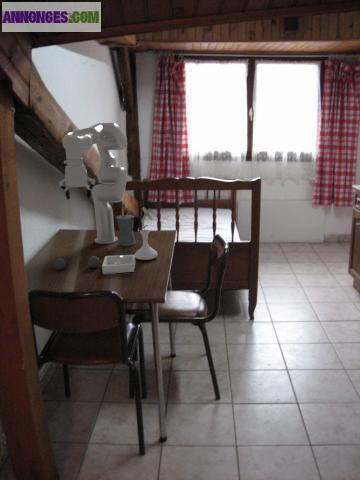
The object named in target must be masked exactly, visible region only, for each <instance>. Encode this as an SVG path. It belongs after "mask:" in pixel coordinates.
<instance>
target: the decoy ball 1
mask: <svg viewBox="0 0 360 480" xmlns="http://www.w3.org/2000/svg"><path fill="white" fill-rule="evenodd" d="M66 264H67V262H66V259H64V258H63V257H57V258H55V259H54V260H53V267H54V268H55V269H56V270H63V269H64V268H65V267H66Z"/></svg>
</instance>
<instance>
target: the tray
mask: <svg viewBox="0 0 360 480" xmlns="http://www.w3.org/2000/svg"><path fill="white" fill-rule="evenodd" d="M116 256H117V255H105V256H104V259H103V263H102V265H101V269H102V275H117V274H116V273H123V272H134V273H135V270H134V269H135V268H136V257H135V254H126V255H124V254H123V255H121V256H123V257H124V258H125V264H121V265H114V263H113V260H114V258H115V257H116ZM123 274H124V273H123Z"/></svg>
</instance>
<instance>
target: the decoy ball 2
mask: <svg viewBox="0 0 360 480" xmlns="http://www.w3.org/2000/svg"><path fill="white" fill-rule="evenodd" d="M87 263H88V265H89V267H90V268H92V269H95V268H98V267H99V266H100V265H101V260H100V258H99V257H98V256H97V255H93V256H90V257H89V258H88V261H87Z"/></svg>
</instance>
